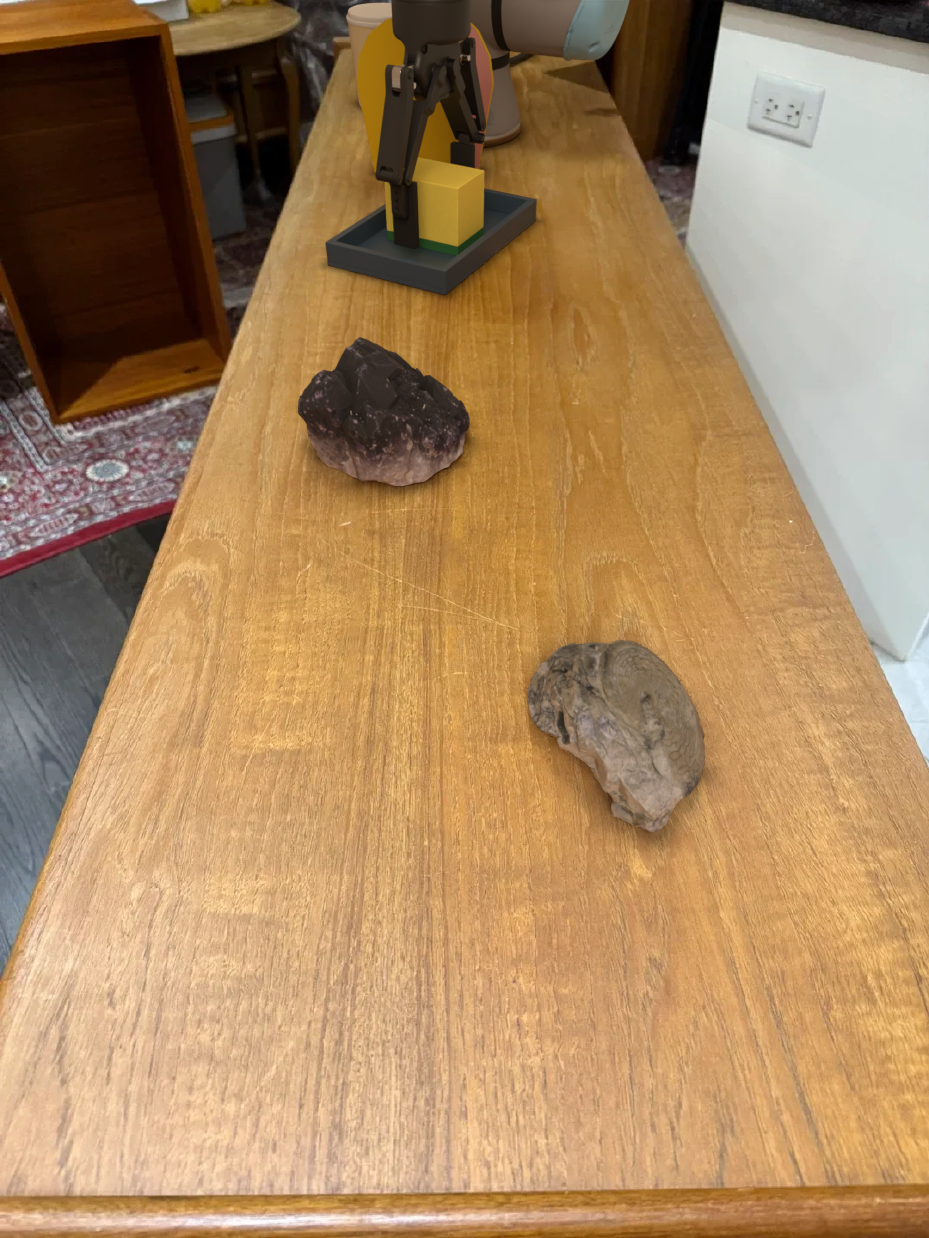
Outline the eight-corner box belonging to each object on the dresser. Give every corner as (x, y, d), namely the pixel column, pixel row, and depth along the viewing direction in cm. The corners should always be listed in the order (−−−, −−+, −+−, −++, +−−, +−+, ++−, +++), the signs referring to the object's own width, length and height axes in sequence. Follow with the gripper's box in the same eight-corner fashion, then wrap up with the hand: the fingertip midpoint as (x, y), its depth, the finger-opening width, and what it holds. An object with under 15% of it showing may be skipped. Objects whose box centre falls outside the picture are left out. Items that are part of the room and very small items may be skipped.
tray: (428, 198, 108) (427, 176, 106) (535, 221, 103) (537, 199, 101) (327, 265, 94) (324, 242, 93) (445, 295, 90) (445, 271, 88)
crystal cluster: (450, 397, 77) (437, 286, 71) (493, 475, 68) (483, 354, 61) (301, 430, 76) (273, 318, 69) (323, 515, 66) (293, 394, 59)
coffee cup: (406, 115, 130) (402, 19, 121) (345, 111, 131) (337, 15, 123) (421, 96, 136) (418, 4, 128) (363, 93, 138) (356, 1, 129)
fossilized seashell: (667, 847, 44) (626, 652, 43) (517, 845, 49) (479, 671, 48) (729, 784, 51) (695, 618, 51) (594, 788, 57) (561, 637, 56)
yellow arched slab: (493, 169, 114) (498, 0, 101) (464, 190, 109) (465, 15, 96) (395, 151, 119) (387, -13, 106) (363, 170, 114) (350, 1, 101)
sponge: (414, 220, 102) (412, 156, 97) (483, 236, 99) (484, 170, 94) (387, 239, 98) (383, 173, 93) (458, 256, 95) (457, 188, 90)
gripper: (397, 20, 73) (409, 274, 89) (523, -31, 88) (514, 195, 103) (323, 9, 76) (347, 258, 91) (457, -38, 90) (458, 183, 106)
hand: (435, 225), depth 97 cm, fingers open, 12 cm apart
